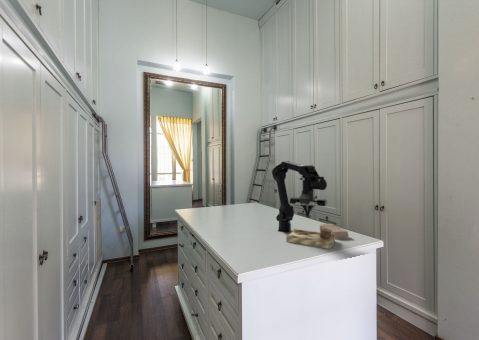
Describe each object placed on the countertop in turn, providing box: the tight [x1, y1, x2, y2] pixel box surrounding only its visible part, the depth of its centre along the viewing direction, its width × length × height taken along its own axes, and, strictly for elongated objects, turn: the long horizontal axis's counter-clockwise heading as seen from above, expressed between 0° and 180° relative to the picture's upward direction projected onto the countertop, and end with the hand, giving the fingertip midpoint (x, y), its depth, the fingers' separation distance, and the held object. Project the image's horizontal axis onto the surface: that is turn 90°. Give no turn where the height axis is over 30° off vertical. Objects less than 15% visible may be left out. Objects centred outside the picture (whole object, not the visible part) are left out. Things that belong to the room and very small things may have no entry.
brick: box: [319, 223, 349, 240], centre depth 134 cm, size 17×8×5 cm, turn 12°
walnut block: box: [319, 228, 331, 239], centre depth 121 cm, size 4×4×4 cm
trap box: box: [285, 228, 336, 250], centre depth 123 cm, size 22×13×4 cm, turn 59°
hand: (308, 217), depth 126 cm, fingers closed
